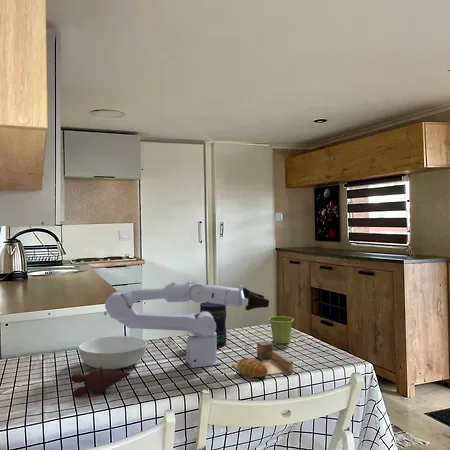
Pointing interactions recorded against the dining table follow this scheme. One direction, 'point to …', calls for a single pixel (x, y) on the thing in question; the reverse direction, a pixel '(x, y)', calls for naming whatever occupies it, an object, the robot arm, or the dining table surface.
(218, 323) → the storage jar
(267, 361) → the board
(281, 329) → the plant pot
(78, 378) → the icecream
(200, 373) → the dining table surface
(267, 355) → the walnut block
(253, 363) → the pastry
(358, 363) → the dining table surface
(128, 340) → the serving bowl
